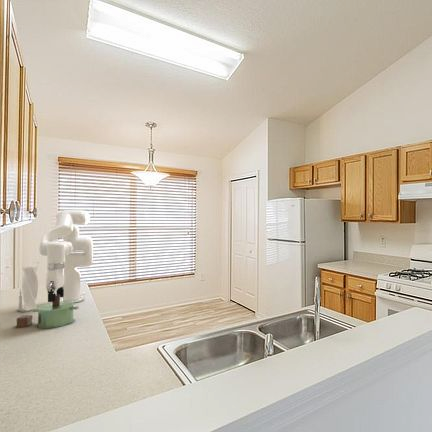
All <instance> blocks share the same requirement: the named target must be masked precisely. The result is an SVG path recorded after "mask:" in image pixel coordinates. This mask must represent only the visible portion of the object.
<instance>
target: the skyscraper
mask: <svg viewBox="0 0 432 432" xmlns="http://www.w3.org/2000/svg"><path fill="white" fill-rule="evenodd" d="M34 264H36V265H34ZM39 264H40V262H39V261H33V262H30V263H28V264H27V265H26V266H23V267H22V271H23V278H22V283H21V288H20V289H19V290H20V291H19V296H18V309H17V311H18V312H21V313H26V312H31V311H32V310H34V309H37V308H38V306H37V304H36V301H37V297H38V291H39V279H38V276H37V270H38V267H39ZM23 303H24V304H23Z"/></svg>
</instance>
